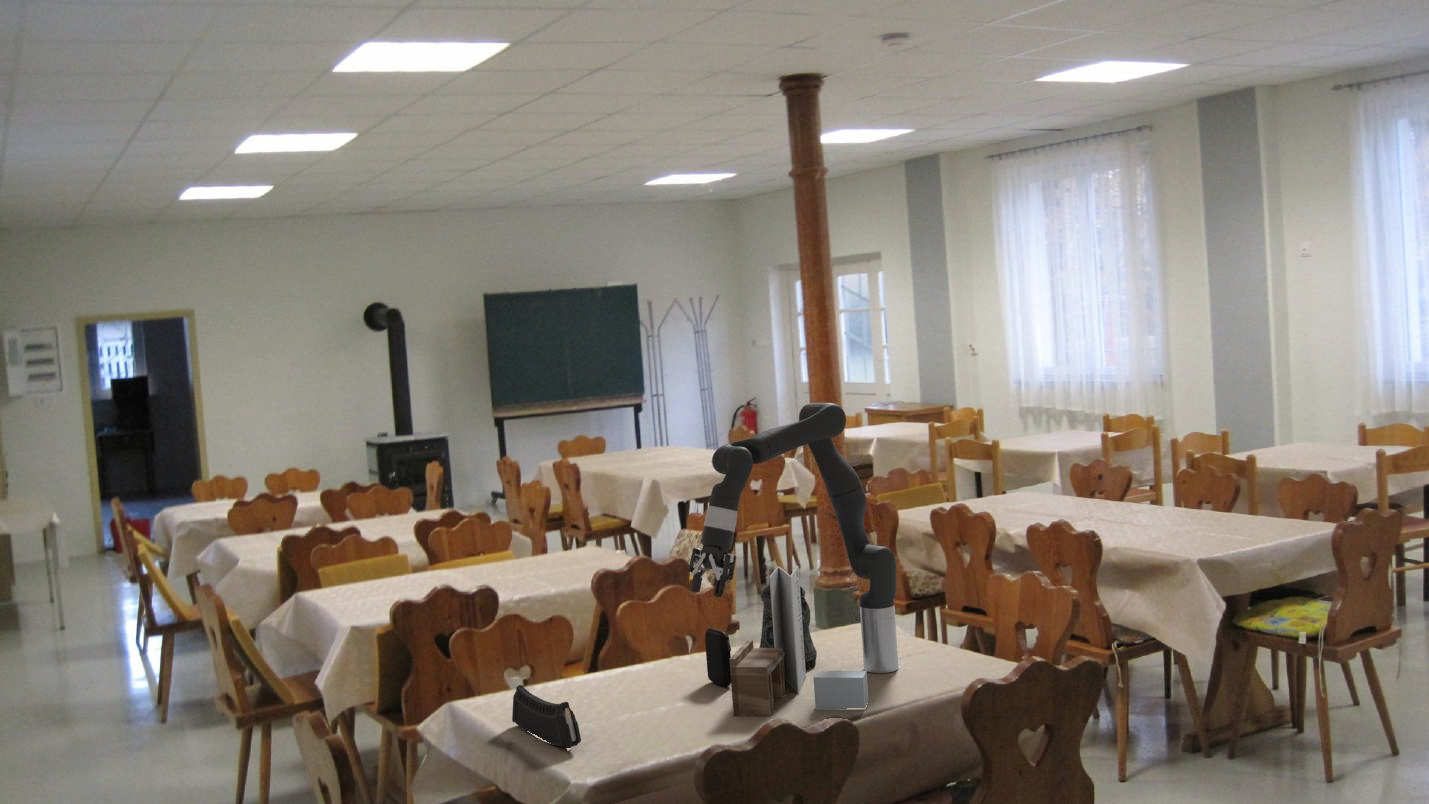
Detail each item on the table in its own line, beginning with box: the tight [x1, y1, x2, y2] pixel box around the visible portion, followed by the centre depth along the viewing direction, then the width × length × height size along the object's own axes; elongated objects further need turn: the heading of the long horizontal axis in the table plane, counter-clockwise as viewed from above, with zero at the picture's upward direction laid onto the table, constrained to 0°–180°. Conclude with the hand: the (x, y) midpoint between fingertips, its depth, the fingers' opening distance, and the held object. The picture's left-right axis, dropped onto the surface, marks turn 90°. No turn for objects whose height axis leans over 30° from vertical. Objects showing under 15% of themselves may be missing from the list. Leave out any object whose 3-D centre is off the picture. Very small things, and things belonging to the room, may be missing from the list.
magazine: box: [511, 684, 582, 749], centre depth 289 cm, size 17×3×30 cm
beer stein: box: [758, 583, 818, 671], centre depth 337 cm, size 16×19×25 cm
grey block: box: [813, 670, 870, 711], centre depth 297 cm, size 6×12×8 cm, turn 74°
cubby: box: [729, 639, 786, 718], centre depth 303 cm, size 18×10×14 cm, turn 165°
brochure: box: [769, 565, 807, 695], centre depth 318 cm, size 14×6×30 cm, turn 168°
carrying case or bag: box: [704, 627, 732, 688], centre depth 323 cm, size 11×3×15 cm, turn 33°
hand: (706, 594), depth 293 cm, fingers open, 8 cm apart
